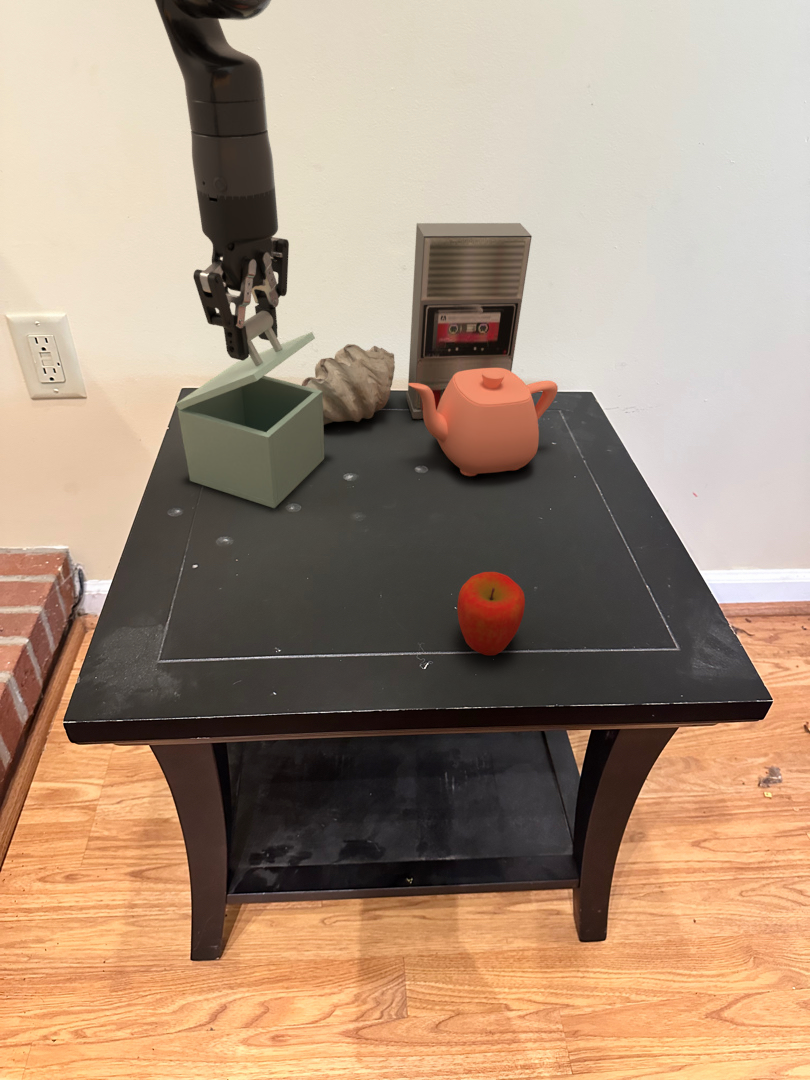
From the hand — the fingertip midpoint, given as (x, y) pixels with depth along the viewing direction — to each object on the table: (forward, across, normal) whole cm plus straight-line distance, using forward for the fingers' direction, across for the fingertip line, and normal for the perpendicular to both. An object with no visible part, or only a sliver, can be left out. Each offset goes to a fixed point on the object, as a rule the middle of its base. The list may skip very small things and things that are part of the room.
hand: (253, 347), depth 81 cm
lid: (+3, 0, -1) cm, 4 cm away
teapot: (+17, -16, +22) cm, 32 cm away
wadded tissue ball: (+17, -17, +2) cm, 24 cm away
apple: (+18, +15, +34) cm, 41 cm away
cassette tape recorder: (+17, -27, +15) cm, 35 cm away
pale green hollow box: (+17, 0, -1) cm, 17 cm away
